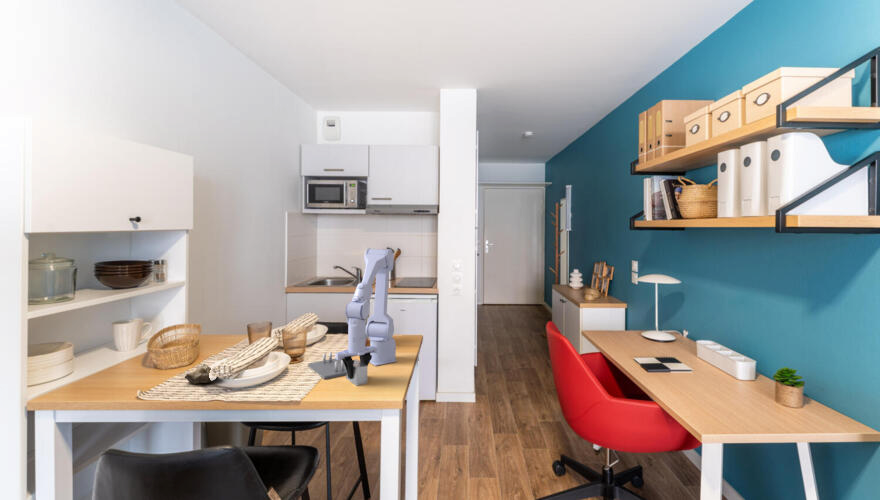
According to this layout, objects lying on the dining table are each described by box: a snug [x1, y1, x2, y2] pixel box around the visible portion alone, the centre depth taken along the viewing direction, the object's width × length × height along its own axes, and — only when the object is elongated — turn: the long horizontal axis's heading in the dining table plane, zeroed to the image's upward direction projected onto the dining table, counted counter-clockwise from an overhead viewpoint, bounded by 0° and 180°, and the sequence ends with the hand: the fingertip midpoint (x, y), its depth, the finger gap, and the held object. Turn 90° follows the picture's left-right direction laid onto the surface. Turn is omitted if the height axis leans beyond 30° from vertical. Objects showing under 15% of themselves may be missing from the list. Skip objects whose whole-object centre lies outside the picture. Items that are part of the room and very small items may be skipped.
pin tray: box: [307, 351, 346, 381], centre depth 149 cm, size 13×16×4 cm
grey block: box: [345, 358, 369, 387], centre depth 138 cm, size 4×8×6 cm, turn 37°
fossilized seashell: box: [184, 363, 213, 385], centre depth 135 cm, size 8×7×10 cm
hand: (356, 376), depth 139 cm, fingers closed on grey block, 4 cm apart
